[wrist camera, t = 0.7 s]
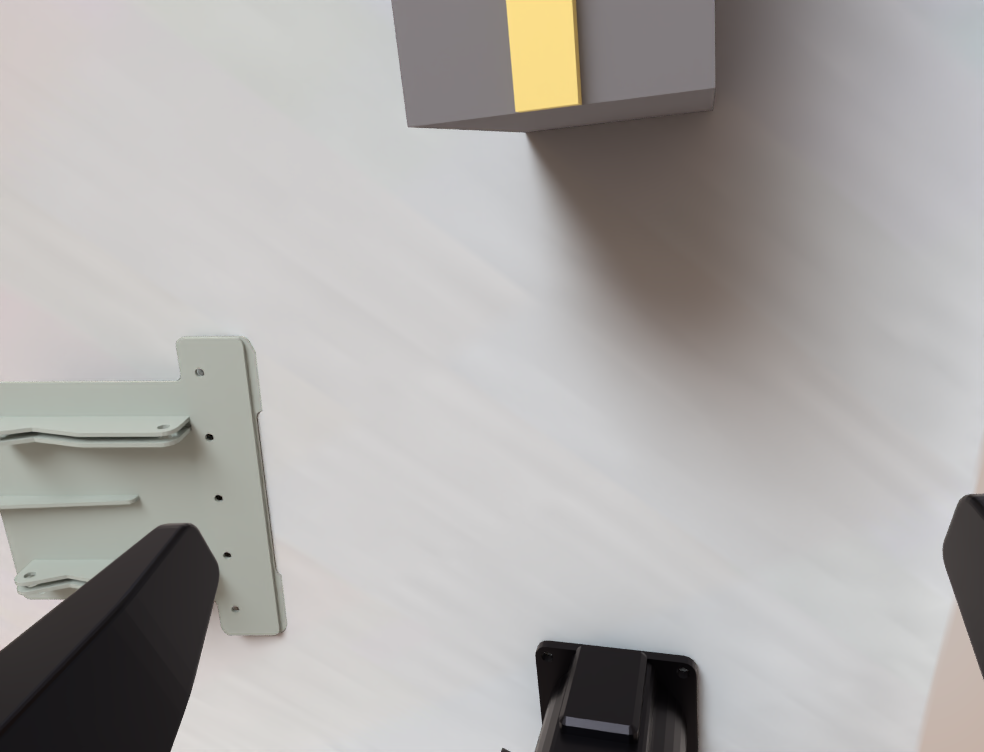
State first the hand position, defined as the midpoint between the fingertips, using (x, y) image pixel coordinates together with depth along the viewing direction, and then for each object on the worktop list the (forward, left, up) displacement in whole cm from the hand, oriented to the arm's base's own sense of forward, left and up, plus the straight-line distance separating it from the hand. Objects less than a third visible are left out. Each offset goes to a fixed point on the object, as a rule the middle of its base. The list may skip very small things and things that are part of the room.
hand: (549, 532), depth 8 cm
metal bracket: (-8, +24, -17) cm, 30 cm away
